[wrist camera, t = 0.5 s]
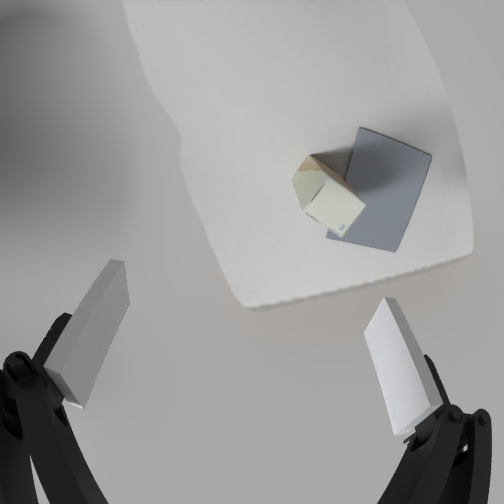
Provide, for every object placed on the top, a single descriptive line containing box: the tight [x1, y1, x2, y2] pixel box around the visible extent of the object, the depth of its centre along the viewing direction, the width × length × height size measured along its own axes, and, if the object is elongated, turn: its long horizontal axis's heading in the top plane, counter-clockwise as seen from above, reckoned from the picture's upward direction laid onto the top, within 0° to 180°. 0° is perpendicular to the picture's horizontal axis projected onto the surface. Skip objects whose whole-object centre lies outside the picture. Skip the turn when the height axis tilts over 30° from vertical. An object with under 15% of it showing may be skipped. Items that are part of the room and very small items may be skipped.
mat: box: [326, 128, 432, 252], centre depth 35 cm, size 16×12×1 cm
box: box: [292, 155, 367, 237], centre depth 30 cm, size 5×4×11 cm
